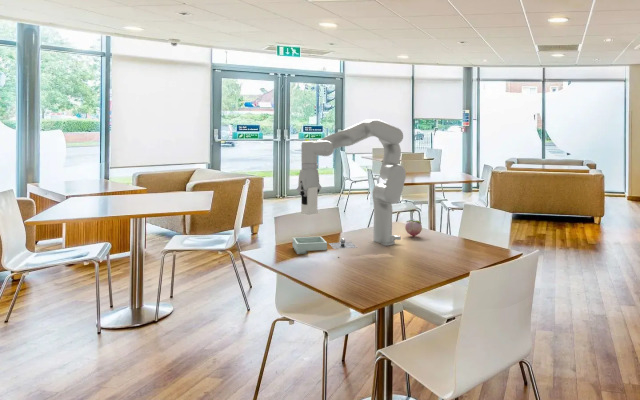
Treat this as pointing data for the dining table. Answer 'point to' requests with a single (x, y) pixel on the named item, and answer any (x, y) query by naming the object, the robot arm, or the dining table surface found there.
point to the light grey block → (310, 202)
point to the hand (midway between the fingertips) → (309, 203)
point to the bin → (308, 244)
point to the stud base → (347, 245)
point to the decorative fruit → (413, 227)
